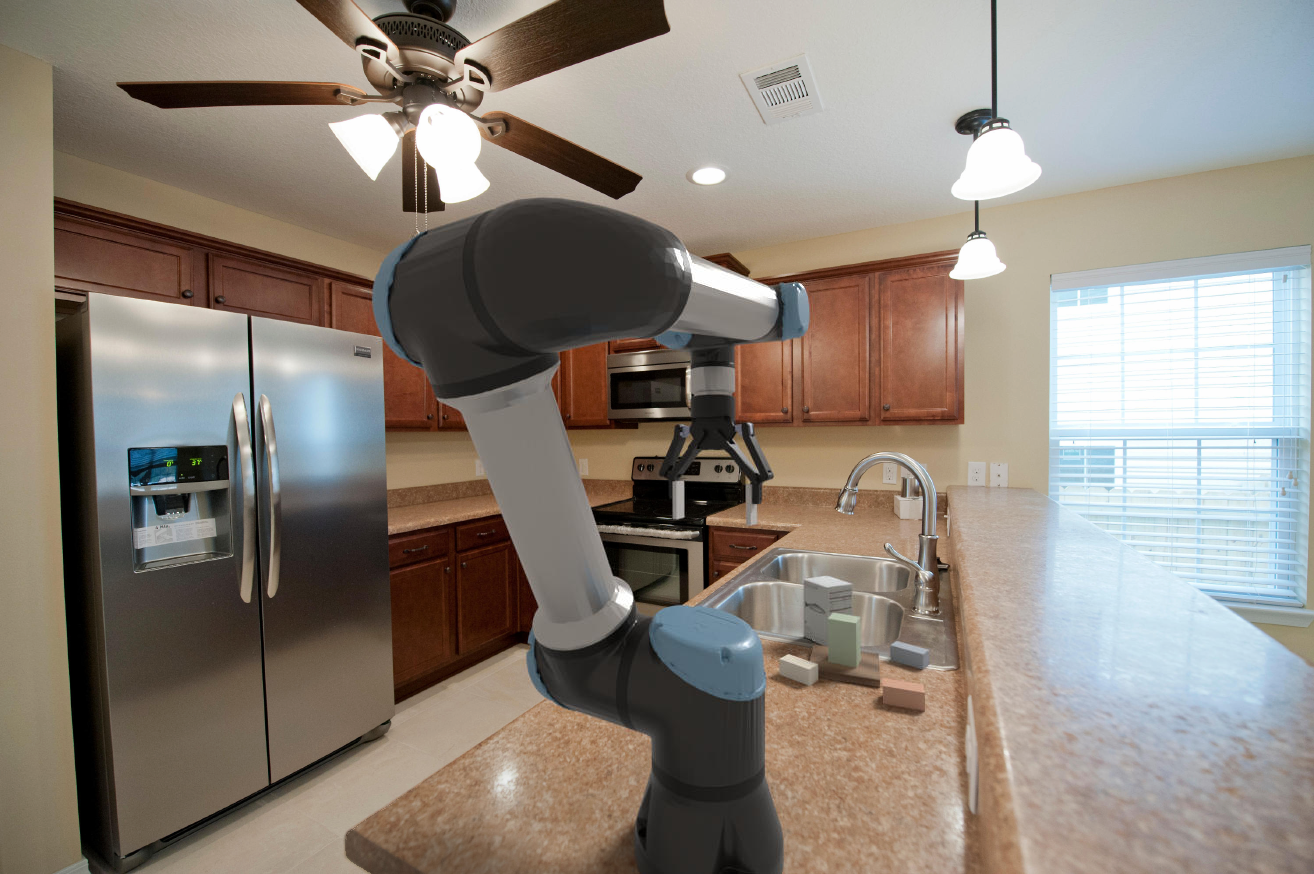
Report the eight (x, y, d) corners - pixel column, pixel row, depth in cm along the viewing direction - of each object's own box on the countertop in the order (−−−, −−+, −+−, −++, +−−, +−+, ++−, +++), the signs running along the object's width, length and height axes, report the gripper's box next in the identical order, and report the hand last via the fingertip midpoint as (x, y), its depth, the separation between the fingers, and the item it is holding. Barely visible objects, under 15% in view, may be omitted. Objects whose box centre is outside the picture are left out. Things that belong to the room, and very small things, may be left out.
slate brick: (929, 665, 96) (929, 649, 96) (923, 670, 94) (923, 654, 94) (896, 656, 101) (896, 640, 101) (890, 660, 99) (890, 644, 99)
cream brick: (818, 681, 90) (818, 664, 90) (809, 686, 88) (809, 669, 88) (788, 670, 95) (788, 654, 95) (779, 675, 92) (779, 658, 93)
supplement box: (802, 637, 110) (801, 578, 111) (828, 631, 113) (828, 574, 114) (827, 649, 104) (826, 586, 104) (854, 643, 107) (853, 582, 107)
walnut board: (880, 686, 87) (880, 679, 87) (807, 675, 92) (807, 668, 92) (878, 659, 98) (878, 653, 98) (814, 650, 103) (814, 644, 103)
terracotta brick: (923, 703, 82) (923, 684, 82) (925, 712, 80) (924, 692, 80) (882, 695, 85) (882, 677, 85) (883, 704, 82) (882, 685, 82)
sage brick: (856, 667, 92) (856, 623, 92) (828, 661, 95) (827, 618, 95) (860, 659, 96) (860, 616, 96) (833, 654, 98) (832, 612, 98)
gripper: (792, 392, 83) (793, 524, 82) (662, 400, 96) (662, 513, 96) (776, 388, 76) (778, 530, 76) (639, 397, 90) (639, 518, 89)
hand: (713, 521), depth 86 cm, fingers open, 13 cm apart
